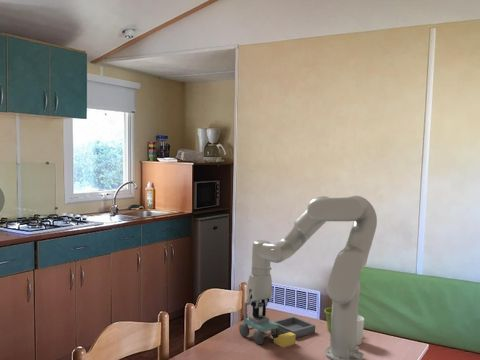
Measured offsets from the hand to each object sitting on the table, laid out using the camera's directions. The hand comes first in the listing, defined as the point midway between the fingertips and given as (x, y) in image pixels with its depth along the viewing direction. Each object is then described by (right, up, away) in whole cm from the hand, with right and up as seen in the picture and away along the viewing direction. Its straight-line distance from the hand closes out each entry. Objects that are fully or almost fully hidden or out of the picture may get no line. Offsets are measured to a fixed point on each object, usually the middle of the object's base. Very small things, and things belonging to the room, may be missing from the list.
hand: (259, 315), depth 183 cm
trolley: (0, -9, 0) cm, 9 cm away
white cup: (+38, -10, -1) cm, 39 cm away
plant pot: (+33, -10, +10) cm, 36 cm away
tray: (+15, -9, +8) cm, 19 cm away
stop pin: (0, -2, 0) cm, 2 cm away
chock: (+10, -10, -5) cm, 15 cm away
